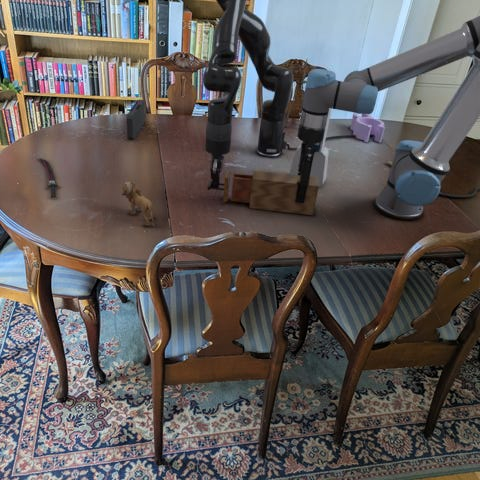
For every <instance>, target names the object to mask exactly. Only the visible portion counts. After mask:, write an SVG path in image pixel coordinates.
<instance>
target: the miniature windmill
mask: <svg viewBox="0 0 480 480" xmlns="http://www.w3.org/2000/svg"><path fill="white" fill-rule="evenodd" d="M305 60H306V61H305V65H304V67H300V66H299V65H295V64H293V65H292V70H291V71H292V72H293V71H296V72H297V71H298V72H299V71H301V73H300V77H299V79H296V81H295V83H297V85H296V88H295V91H294V95H293V97H292V100H291V103H290V105H289V109H288V112H287V114H286V115H287V116H286V117H285V123H284V128H286V126H287V123H288V121H292V122H299V123H300V119H299V120H298V119H292V118H290V116H292V117H298V118H301V117H300V116H299V114H292V113H291V111H292V109H293V110H300V113H302V106H303V100H304V84H305V85H306V83H307V80H305V77H306V71H307V65H308V58H306V59H305ZM298 90H301V91H300V92H301V93H300V94H301V95H299V94H297V93H298ZM295 99H296V100H300V104H295V103H294V102H295ZM293 106H297V107H293ZM299 107H300V108H299Z"/></svg>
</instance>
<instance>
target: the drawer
mask: <svg viewBox="0 0 480 480" xmlns="http://www.w3.org/2000/svg"><path fill="white" fill-rule="evenodd" d="M252 178H253V174H247V173H238V172H234V173H233V176H232V185H231V199H230V201H231V202H238V203H245V204H247V203H248V204H250V197H251V188H252ZM230 180H231V170H226V172H225V176H224V182H223V183H222V182H219V186H222V187H219V188H218V187H212V180H209V182H208V183H207V184H208V185H207V187H206V189H207V190H208V191H211V190H214V191H215V190H216V191H223V197H222V198H223V199H222V200H223V202H222V203H228V199H229V196H230V195H229V194H230V182H231V181H230Z"/></svg>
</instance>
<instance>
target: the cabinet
mask: <svg viewBox="0 0 480 480" xmlns="http://www.w3.org/2000/svg"><path fill="white" fill-rule="evenodd" d="M252 175H253V178H252V188H251V197H250V203H249V209H255V210H264V211H272V212H280V213H281V212H282V213H290V214H298V215H306V216H307V215H308V216H314V213H315V207H316V202H317V198H318V193H319V188H320V187H319V184H318V177H310V178H309V185H308V186H307V190H306V195H305V200H304V203H296V202H295V199H296V194H297V188H298V184H297V182H299V181H300V175H291V174H289V173H281V172H274V171H273V172H272V171H265V170H256V169H255V170H253V172H252Z"/></svg>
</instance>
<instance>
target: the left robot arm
mask: <svg viewBox="0 0 480 480" xmlns="http://www.w3.org/2000/svg"><path fill="white" fill-rule="evenodd" d="M215 1H216V3H217V4H218V7H220V9H221V10H222V11H223V14H222V15H221V17H220V19H219V21H217V23H216V26H215V29H214V32H213V38H212V40H213V41H212V49H211V53H210V57H209V59H208V62H207V64H206V66H205V68H204V71H203V74H202V85H203V87H204V88H205V89H206V90H207V91H210V92H214V93H215V92H216V93H226V95H225V96H223V97H218V98H213V99H210V100H209V101H208V105H207V119H206V120H207V121H206V127H205V146H204V148H205V149H204V150H205V151H206V152H207V153H208V154H211V155H210V158H209V164H210V166H209V167H210V168H209V172H210V180H211V181H212V187H218V188H220V185H219V183H220V179H221V175H222V174H221V173H222V170H223V168H224V167H223V166H224V161H225V155H227V154H229V153H230V152H231V144H232V134H233V133H232V132H233V130H232V129H233V128H232V127H233V126H232V121H233V109H234V103H235V100H236V97H237V94H238V92H239V88H240V86H241V83H242V73H241V70H240V69H239V68H238V67H237V66H235V65H231V64H233V63H234V62H235V61H236V59H237V56H238V45H239V41H240V43H241V45H242V46H243V48H244V50H245V52H246V53H247V55H248V57H249V59H250V61H251V63H252V64H253V67H254V69H255V71H256V74H257V77H258V79H259V82H260V84H261V86H262V87H263V88H264V89H265V90H267V91H269V92H271V93H274V94H273V97H272V99H266V100H263V102H262V105H261V114H260V123H259V131H258V138H257V139H258V140H257V148H256V153H257V154H258V155H259V156H262V157H264V158H265V157H266V158H277V157H279V156H281V155H282V154H283V150H286V149H288V150H290V151H296V150H297V148H298V147H290V146H291V145H290V143H288V142H287V141H286V140H285V136H286V130H284V128H285V127H284V125H285V122H286V117H287V116H286V115H287V108H288V106H289V104H290V101H291V95H292V90H293V85H294V72H293V71H292V70H291V69H290V68H287V67H284V66H280V65H278V64H275V63H274V61H273V60H272V58H271V56H270V54H269V53H270V49H271V45H272V44H271V43H272V42H271V36H270V33H269V31H268V29H267V27H266V24H265V23H264V21H263V20H262V19H261V18H260V17H259V16H258V15H256V14H255V13H253V12H252V11H251V10H249V9H247V8H246V5H247V1H248V0H215ZM373 137H374V135H372V134H370V136H369V138H373ZM340 138H356V135H353V134H345V135H343V134H342V135H333V136H326V140H331V139H340ZM326 140H325V141H326ZM315 145H317V143H315Z"/></svg>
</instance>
